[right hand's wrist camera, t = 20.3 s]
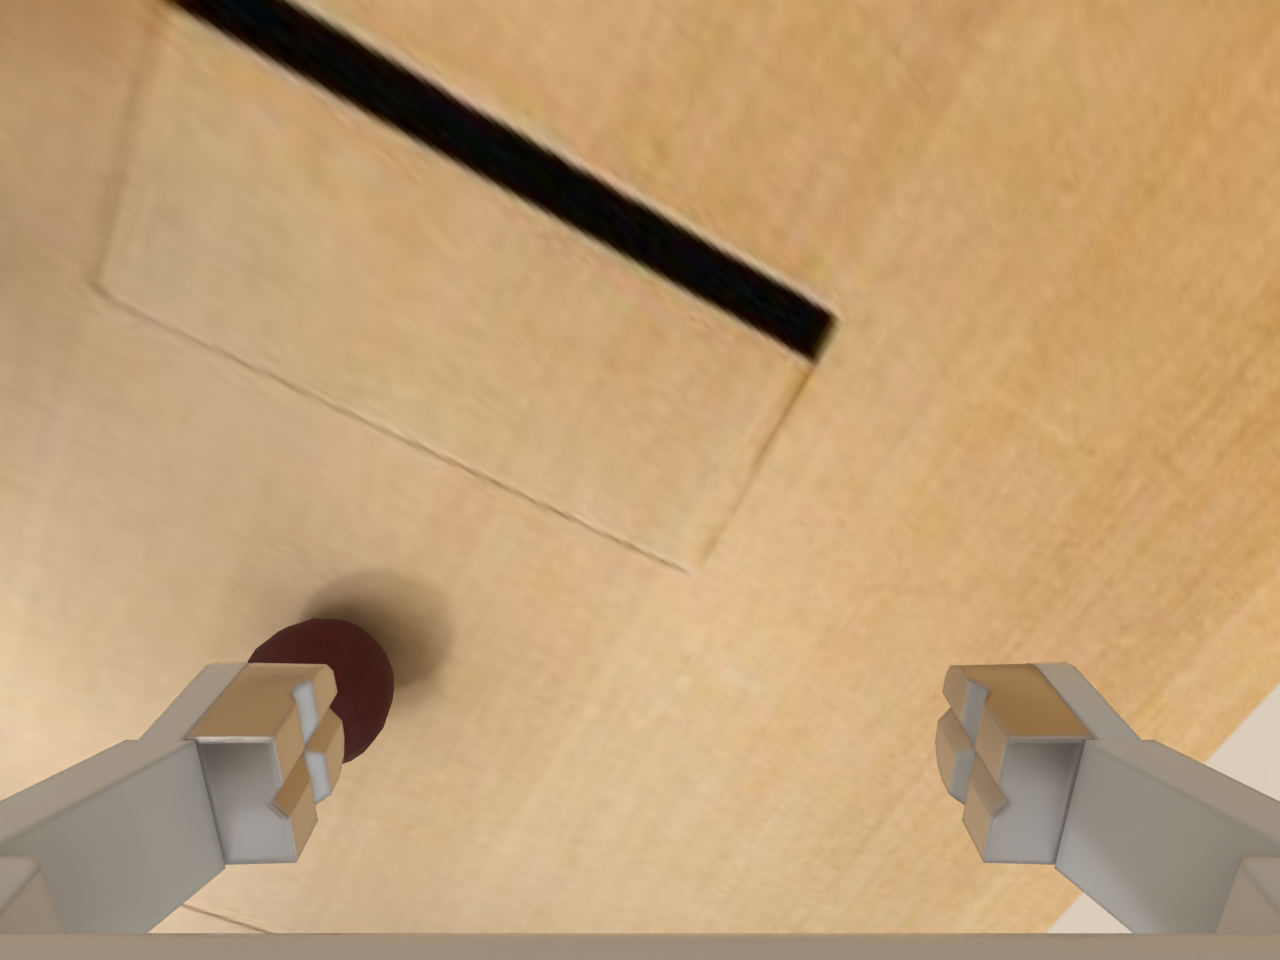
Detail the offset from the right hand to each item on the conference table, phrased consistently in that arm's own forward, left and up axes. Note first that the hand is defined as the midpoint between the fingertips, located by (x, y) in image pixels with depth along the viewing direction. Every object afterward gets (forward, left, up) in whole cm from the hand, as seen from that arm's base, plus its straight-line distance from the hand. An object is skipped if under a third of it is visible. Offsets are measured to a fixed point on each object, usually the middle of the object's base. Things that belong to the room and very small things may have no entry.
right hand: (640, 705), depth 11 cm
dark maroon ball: (+18, -17, -29) cm, 38 cm away
